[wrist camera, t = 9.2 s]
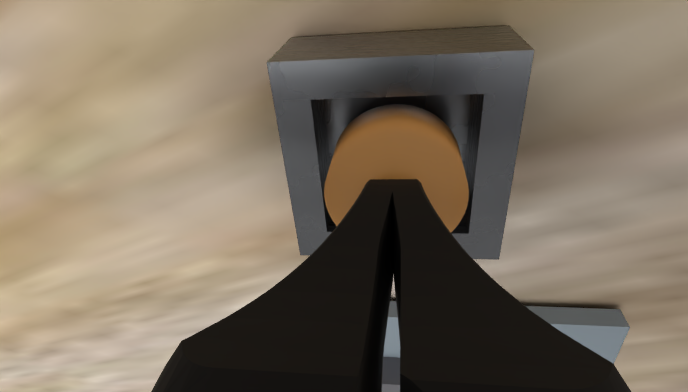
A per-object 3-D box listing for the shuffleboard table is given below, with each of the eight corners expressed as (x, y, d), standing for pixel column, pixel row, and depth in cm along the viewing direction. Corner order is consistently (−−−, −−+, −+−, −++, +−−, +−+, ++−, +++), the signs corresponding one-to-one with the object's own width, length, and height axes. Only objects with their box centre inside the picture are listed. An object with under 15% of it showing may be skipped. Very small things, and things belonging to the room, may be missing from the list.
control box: (508, 25, 13) (533, 50, 10) (484, 209, 17) (498, 259, 14) (291, 37, 14) (266, 62, 11) (314, 208, 18) (300, 255, 15)
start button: (465, 101, 12) (475, 131, 10) (455, 215, 14) (462, 254, 12) (328, 106, 12) (316, 134, 11) (339, 214, 15) (330, 251, 13)
